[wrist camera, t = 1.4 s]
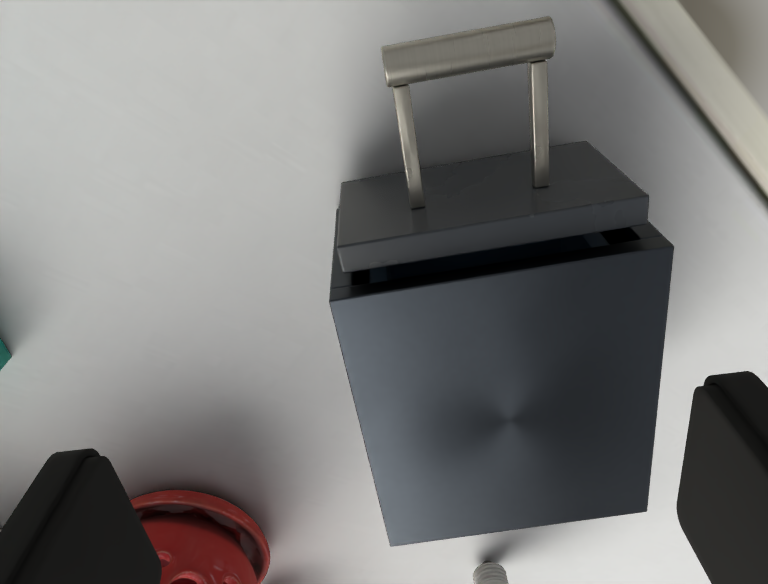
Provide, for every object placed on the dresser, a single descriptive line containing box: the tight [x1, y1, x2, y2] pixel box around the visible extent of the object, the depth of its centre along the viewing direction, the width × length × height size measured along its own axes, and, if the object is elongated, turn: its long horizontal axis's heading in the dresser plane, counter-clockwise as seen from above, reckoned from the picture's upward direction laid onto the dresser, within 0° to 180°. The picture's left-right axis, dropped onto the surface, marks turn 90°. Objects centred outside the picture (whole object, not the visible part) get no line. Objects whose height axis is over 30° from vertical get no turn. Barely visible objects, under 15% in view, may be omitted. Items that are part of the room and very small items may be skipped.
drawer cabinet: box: [329, 209, 674, 546], centre depth 29 cm, size 15×13×9 cm
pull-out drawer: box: [337, 16, 649, 283], centre depth 26 cm, size 20×12×7 cm, turn 9°
